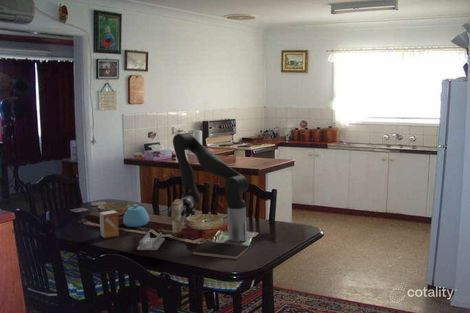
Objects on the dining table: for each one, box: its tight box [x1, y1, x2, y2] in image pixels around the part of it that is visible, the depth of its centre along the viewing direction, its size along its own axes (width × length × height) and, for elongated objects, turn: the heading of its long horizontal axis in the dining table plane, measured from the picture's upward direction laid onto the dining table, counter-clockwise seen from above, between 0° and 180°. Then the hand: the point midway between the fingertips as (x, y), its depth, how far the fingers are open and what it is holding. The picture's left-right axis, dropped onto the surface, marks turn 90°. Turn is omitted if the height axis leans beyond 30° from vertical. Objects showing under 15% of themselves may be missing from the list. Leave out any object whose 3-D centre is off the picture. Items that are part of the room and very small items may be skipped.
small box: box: [98, 210, 120, 239], centre depth 286 cm, size 8×6×13 cm
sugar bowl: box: [122, 204, 150, 228], centre depth 307 cm, size 15×15×12 cm
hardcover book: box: [192, 240, 250, 260], centre depth 256 cm, size 16×23×2 cm
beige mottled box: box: [170, 198, 185, 234], centre depth 258 cm, size 4×10×14 cm, turn 174°
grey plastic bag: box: [136, 232, 166, 251], centre depth 269 cm, size 10×16×4 cm, turn 174°
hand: (177, 214), depth 258 cm, fingers closed on beige mottled box, 3 cm apart
